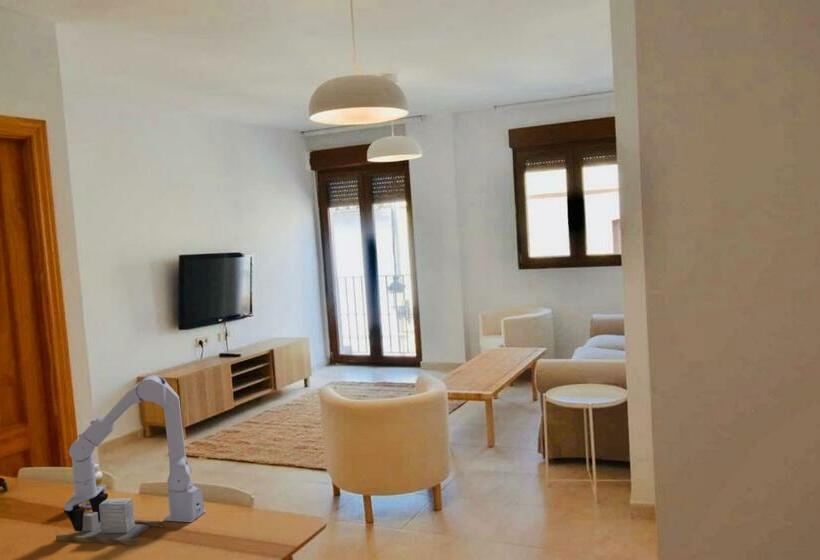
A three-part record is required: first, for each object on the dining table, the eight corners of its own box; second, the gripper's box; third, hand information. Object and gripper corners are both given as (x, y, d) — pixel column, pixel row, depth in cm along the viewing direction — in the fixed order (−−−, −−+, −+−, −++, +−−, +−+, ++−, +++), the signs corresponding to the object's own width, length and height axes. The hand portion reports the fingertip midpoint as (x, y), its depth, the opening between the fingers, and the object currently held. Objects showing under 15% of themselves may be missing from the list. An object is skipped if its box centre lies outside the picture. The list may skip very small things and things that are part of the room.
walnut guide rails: (163, 525, 188) (163, 521, 188) (135, 545, 176) (135, 541, 176) (88, 521, 194) (88, 517, 194) (56, 540, 182) (55, 535, 182)
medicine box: (135, 526, 186) (133, 497, 186) (127, 533, 182) (124, 503, 181) (109, 527, 187) (107, 498, 186) (100, 534, 182) (98, 504, 182)
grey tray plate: (149, 527, 187) (147, 509, 187) (128, 541, 178) (127, 523, 178) (95, 524, 191) (93, 507, 191) (72, 537, 183) (71, 519, 183)
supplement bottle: (109, 502, 208) (106, 464, 208) (89, 510, 203) (86, 470, 202) (97, 499, 212) (94, 461, 211) (78, 506, 206) (74, 467, 206)
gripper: (90, 470, 194) (94, 514, 195) (53, 487, 180) (57, 535, 181) (110, 470, 192) (114, 515, 193) (74, 488, 178) (78, 536, 179)
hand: (88, 524), depth 187 cm, fingers open, 7 cm apart
